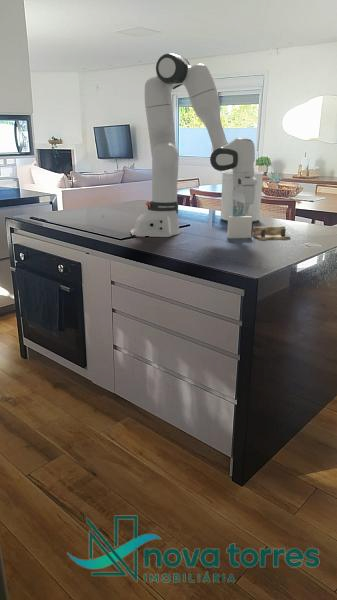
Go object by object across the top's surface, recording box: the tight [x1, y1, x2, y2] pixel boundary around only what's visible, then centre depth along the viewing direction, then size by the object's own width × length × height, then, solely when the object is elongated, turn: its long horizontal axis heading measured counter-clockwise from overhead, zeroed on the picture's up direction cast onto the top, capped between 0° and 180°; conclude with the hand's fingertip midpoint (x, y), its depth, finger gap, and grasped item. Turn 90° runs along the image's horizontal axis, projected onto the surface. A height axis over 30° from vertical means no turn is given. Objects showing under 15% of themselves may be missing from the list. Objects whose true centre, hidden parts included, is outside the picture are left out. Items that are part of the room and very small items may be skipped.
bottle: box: [233, 199, 245, 216], centre depth 208 cm, size 7×7×20 cm
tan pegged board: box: [251, 225, 291, 241], centre depth 195 cm, size 14×10×4 cm
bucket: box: [220, 170, 265, 224], centre depth 231 cm, size 26×22×24 cm
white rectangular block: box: [226, 216, 253, 239], centre depth 193 cm, size 10×2×9 cm, turn 98°
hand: (242, 212), depth 191 cm, fingers open, 8 cm apart
